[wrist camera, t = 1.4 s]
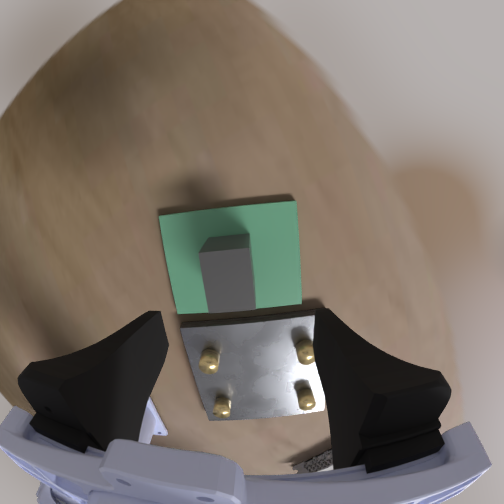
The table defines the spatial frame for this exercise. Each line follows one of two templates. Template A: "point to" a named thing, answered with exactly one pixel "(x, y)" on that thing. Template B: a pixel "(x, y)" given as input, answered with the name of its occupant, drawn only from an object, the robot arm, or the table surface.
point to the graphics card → (316, 464)
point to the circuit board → (265, 250)
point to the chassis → (255, 365)
